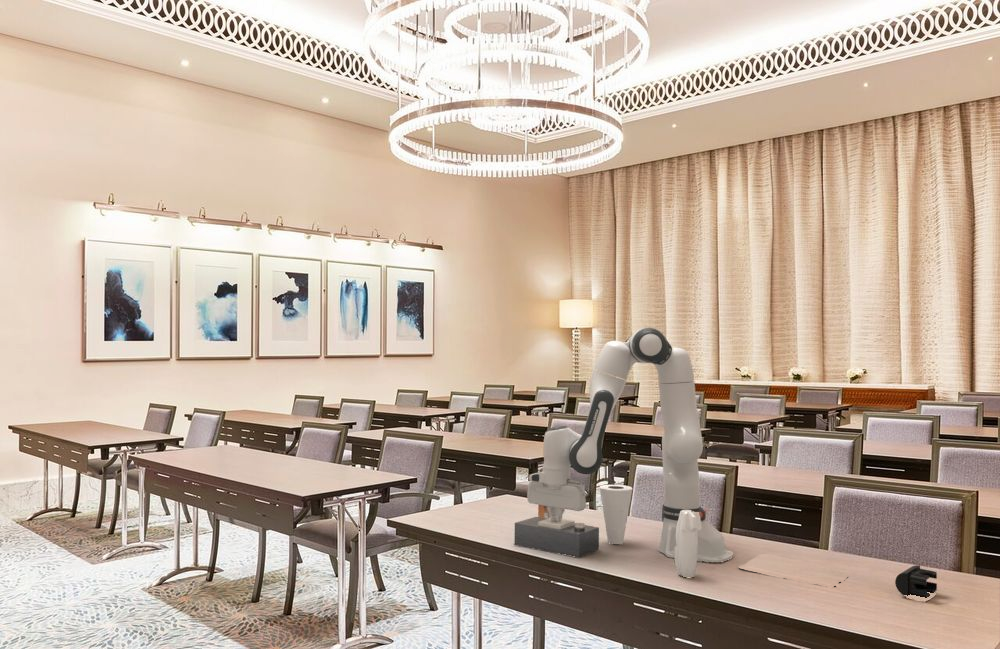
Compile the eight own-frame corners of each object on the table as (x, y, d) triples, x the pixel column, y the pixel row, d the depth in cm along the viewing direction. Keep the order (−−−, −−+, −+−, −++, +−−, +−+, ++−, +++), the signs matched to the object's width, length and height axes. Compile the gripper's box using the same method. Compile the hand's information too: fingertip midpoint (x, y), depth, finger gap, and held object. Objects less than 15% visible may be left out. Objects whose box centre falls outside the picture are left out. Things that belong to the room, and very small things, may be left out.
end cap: (907, 588, 198) (907, 562, 198) (937, 595, 193) (937, 568, 193) (894, 596, 191) (894, 570, 191) (925, 603, 186) (925, 576, 186)
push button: (574, 543, 237) (574, 520, 237) (560, 548, 230) (560, 525, 230) (552, 539, 242) (552, 517, 242) (537, 544, 235) (538, 521, 235)
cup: (622, 549, 235) (622, 491, 236) (593, 543, 241) (593, 487, 242) (637, 542, 243) (638, 487, 244) (609, 537, 250) (609, 483, 250)
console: (598, 549, 233) (599, 522, 234) (579, 557, 224) (579, 529, 224) (535, 537, 248) (535, 511, 248) (514, 544, 238) (514, 517, 239)
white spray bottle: (705, 579, 204) (689, 571, 211) (705, 512, 205) (689, 507, 212) (685, 581, 202) (669, 573, 209) (685, 514, 203) (669, 508, 209)
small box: (537, 526, 265) (538, 496, 265) (551, 525, 267) (551, 495, 268) (548, 531, 257) (548, 500, 258) (562, 530, 260) (562, 499, 260)
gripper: (589, 480, 233) (589, 524, 233) (535, 472, 245) (535, 515, 245) (579, 482, 228) (578, 528, 227) (524, 475, 240) (524, 518, 240)
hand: (555, 521), depth 236 cm, fingers closed, pressing on push button
